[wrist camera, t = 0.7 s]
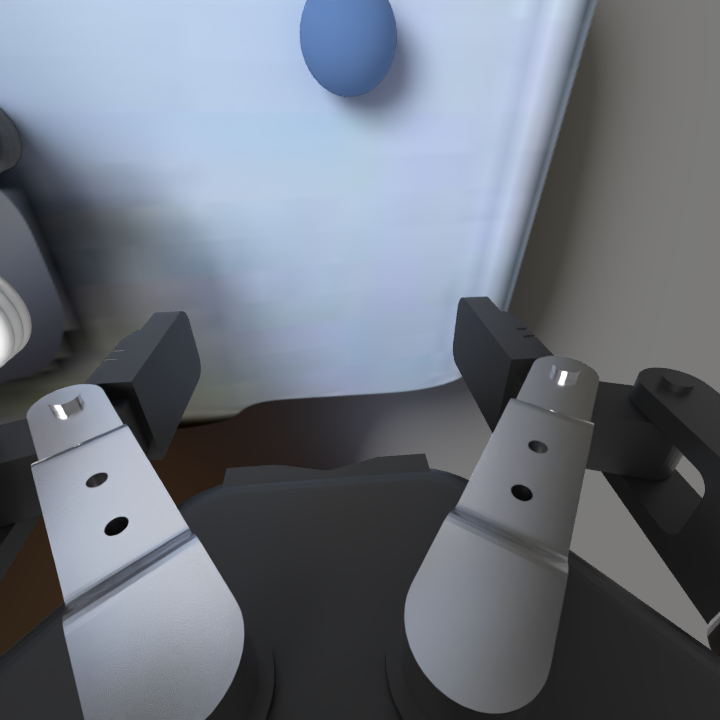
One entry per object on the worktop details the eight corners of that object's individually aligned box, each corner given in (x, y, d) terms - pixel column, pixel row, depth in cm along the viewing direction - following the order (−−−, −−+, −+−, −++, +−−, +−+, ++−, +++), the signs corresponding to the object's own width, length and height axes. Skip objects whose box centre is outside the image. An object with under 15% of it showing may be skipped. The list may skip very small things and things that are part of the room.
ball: (296, -15, 23) (291, -42, 19) (389, -17, 23) (406, -44, 19) (306, 98, 26) (303, 98, 22) (388, 94, 27) (403, 94, 22)
